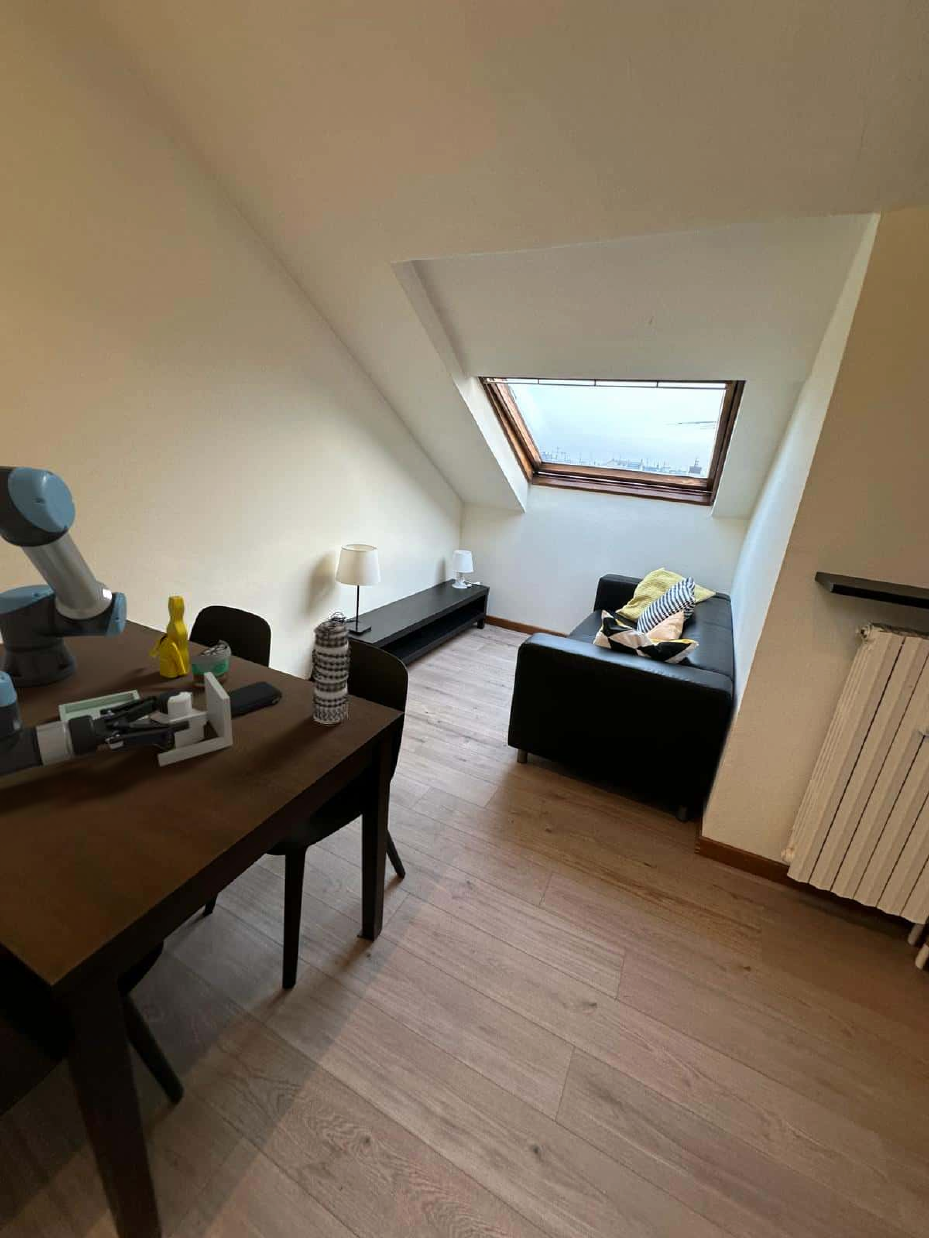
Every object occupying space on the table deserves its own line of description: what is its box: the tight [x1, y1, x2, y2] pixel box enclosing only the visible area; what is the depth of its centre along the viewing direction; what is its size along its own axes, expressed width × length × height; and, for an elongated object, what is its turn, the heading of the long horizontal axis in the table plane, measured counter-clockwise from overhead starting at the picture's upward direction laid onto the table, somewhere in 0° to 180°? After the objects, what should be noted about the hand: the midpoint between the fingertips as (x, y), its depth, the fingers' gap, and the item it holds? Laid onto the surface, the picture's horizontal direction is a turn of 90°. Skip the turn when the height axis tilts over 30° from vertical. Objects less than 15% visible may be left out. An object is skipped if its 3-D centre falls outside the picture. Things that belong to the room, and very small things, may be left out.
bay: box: [157, 672, 234, 767], centre depth 106 cm, size 14×14×12 cm
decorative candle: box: [311, 620, 352, 724], centre depth 119 cm, size 9×9×25 cm
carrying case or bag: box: [226, 681, 283, 717], centre depth 125 cm, size 11×3×15 cm
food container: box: [189, 639, 232, 690], centre depth 131 cm, size 12×6×10 cm, turn 168°
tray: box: [58, 689, 150, 724], centre depth 111 cm, size 15×15×2 cm
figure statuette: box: [148, 595, 191, 679], centre depth 132 cm, size 18×8×22 cm, turn 58°
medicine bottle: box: [149, 688, 205, 752], centre depth 105 cm, size 7×7×12 cm
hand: (198, 707), depth 107 cm, fingers closed on medicine bottle, 9 cm apart
